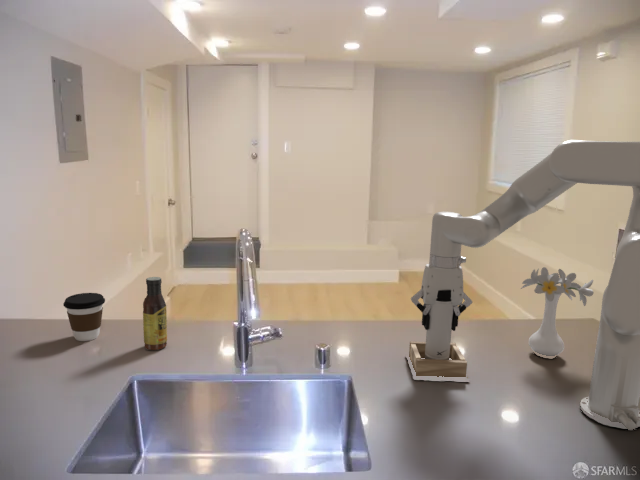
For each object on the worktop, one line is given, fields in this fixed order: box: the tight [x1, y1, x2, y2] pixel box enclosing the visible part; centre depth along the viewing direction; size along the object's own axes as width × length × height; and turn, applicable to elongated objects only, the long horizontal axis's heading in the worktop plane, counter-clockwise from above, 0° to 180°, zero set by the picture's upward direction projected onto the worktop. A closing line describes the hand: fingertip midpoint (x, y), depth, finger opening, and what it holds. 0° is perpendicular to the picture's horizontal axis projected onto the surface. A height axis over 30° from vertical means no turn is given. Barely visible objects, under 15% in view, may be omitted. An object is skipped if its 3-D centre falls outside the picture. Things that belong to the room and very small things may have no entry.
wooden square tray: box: [408, 340, 468, 377], centre depth 133 cm, size 14×14×5 cm
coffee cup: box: [63, 292, 106, 342], centre depth 146 cm, size 11×11×12 cm
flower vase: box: [520, 266, 594, 356], centre depth 142 cm, size 13×18×25 cm
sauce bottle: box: [142, 276, 168, 351], centre depth 140 cm, size 7×6×20 cm
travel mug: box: [425, 289, 454, 360], centre depth 131 cm, size 6×7×20 cm
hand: (439, 327), depth 131 cm, fingers closed on travel mug, 6 cm apart
